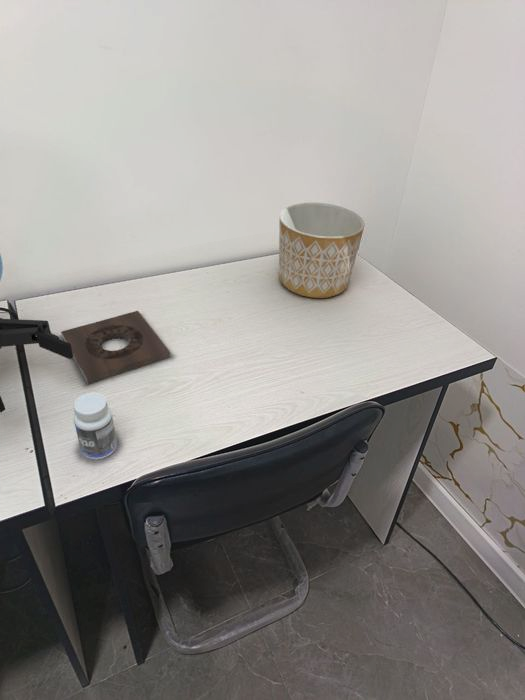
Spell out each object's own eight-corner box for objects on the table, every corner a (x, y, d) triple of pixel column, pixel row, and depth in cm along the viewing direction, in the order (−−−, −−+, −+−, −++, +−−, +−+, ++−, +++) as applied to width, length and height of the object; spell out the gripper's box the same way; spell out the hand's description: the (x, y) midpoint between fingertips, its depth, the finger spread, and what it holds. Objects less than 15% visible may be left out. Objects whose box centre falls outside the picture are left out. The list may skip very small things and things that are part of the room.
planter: (301, 310, 112) (310, 243, 102) (260, 271, 125) (264, 209, 114) (368, 292, 120) (382, 228, 110) (322, 257, 133) (331, 197, 122)
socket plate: (87, 384, 89) (86, 378, 88) (62, 337, 99) (60, 331, 98) (170, 357, 96) (169, 351, 95) (138, 316, 106) (137, 310, 105)
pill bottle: (73, 448, 77) (61, 403, 71) (102, 428, 81) (93, 384, 75) (96, 466, 75) (86, 421, 69) (124, 445, 78) (117, 401, 72)
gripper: (7, 314, 92) (97, 350, 85) (-128, 396, 74) (-26, 449, 68) (-4, 279, 87) (91, 315, 81) (-151, 357, 69) (-44, 410, 63)
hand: (38, 376), depth 74 cm, fingers open, 13 cm apart
